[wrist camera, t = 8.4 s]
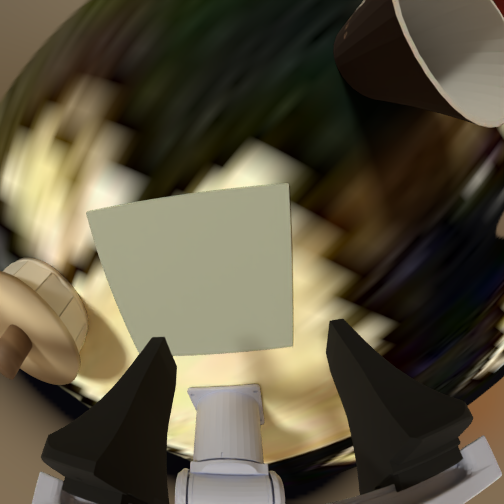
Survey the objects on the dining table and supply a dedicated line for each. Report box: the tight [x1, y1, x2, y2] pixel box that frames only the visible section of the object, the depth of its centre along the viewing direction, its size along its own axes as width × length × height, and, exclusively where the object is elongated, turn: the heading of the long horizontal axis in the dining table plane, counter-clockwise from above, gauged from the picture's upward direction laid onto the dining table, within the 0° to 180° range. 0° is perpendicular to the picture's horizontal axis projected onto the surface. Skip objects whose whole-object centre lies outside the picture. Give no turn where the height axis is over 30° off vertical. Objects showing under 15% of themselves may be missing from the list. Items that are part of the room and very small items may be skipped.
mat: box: [86, 183, 293, 356], centre depth 22 cm, size 15×15×1 cm
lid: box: [0, 271, 81, 385], centre depth 16 cm, size 13×13×5 cm
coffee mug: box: [333, 0, 504, 127], centre depth 10 cm, size 12×9×10 cm
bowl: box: [3, 258, 89, 352], centre depth 20 cm, size 11×11×4 cm
